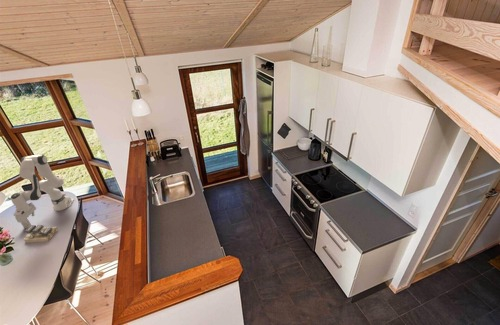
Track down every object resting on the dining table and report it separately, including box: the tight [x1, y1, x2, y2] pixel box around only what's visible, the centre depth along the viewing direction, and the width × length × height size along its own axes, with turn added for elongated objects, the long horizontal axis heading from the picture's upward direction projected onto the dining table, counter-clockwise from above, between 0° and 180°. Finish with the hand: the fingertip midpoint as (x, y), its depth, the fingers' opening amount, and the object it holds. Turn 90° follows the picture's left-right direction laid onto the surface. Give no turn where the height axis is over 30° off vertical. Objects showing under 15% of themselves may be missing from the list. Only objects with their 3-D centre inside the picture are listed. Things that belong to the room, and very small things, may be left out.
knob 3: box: [41, 228, 52, 236], centre depth 250 cm, size 8×5×7 cm, turn 3°
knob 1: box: [24, 224, 37, 234], centre depth 247 cm, size 8×5×7 cm, turn 3°
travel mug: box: [19, 218, 32, 230], centre depth 258 cm, size 6×7×20 cm
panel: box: [23, 226, 58, 243], centre depth 250 cm, size 16×22×4 cm
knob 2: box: [33, 224, 44, 234], centre depth 248 cm, size 8×5×7 cm, turn 3°
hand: (30, 219), depth 240 cm, fingers open, 8 cm apart
